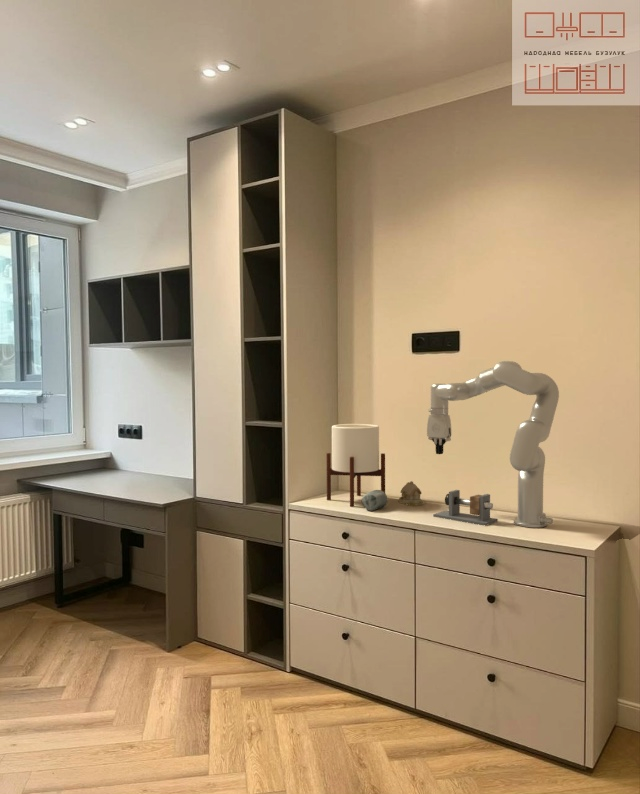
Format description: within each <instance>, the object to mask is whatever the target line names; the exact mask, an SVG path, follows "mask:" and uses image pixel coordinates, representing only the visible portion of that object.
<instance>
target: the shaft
mask: <svg viewBox="0 0 640 794" xmlns="http://www.w3.org/2000/svg"><path fill="white" fill-rule="evenodd" d="M444 503H445V505H446V506H448V507H449V493H447V494H446V495H445V498H444ZM454 503H455V504H460V505H462V506H469V507H470V499H467V498H461V497H460V498H455V497H454ZM484 508H487V509H490V510H493V508H494V503H493V502H490V503H488V502H484Z"/></svg>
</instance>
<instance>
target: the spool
mask: <svg viewBox="0 0 640 794" xmlns="http://www.w3.org/2000/svg"><path fill="white" fill-rule="evenodd" d="M361 501H362V505H363V507H364V508H365V509H366V510H367V511H369V512H373V511H375V510H377V509H381V508H383V507H386V505H387V504H388V495H387V494H386V492H385V493H384V492H383V491H381V489H375V490H371V491H369V492H367V493H365V494H364V495H363V497H362V499H361Z"/></svg>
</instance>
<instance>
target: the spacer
mask: <svg viewBox="0 0 640 794" xmlns="http://www.w3.org/2000/svg"><path fill="white" fill-rule="evenodd" d="M481 495H482V494H475V495H471V496H469V500H470V506H469V514H471V515H477V516H479V496H481Z"/></svg>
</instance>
